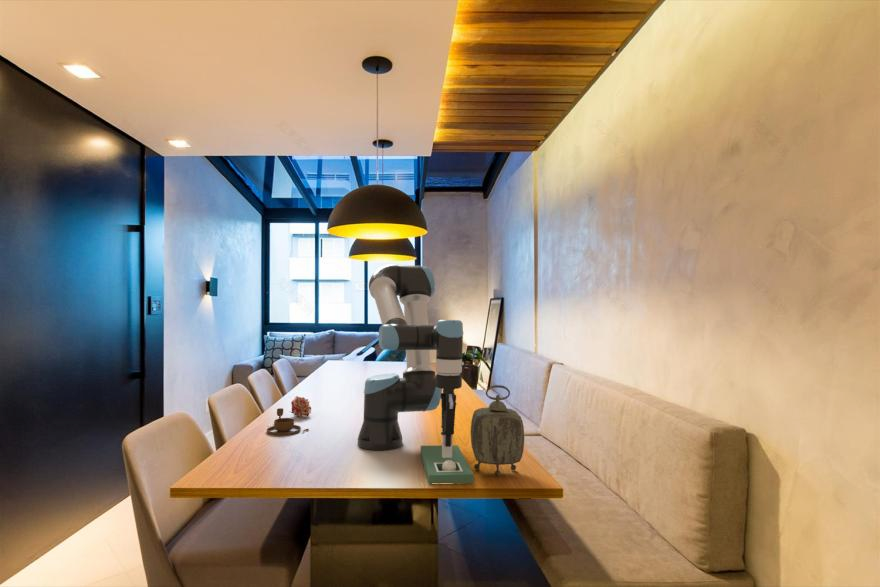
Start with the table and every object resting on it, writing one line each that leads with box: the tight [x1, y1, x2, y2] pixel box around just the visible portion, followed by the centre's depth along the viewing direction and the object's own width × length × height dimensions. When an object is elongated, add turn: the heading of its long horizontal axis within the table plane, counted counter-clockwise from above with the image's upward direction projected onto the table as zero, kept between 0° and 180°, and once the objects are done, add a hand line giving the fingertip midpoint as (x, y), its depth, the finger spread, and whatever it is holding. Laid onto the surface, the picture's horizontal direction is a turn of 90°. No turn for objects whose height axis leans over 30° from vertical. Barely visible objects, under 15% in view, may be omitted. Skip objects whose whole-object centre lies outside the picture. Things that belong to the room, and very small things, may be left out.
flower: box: [288, 395, 312, 419], centre depth 192 cm, size 10×9×8 cm
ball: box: [442, 460, 456, 471], centre depth 128 cm, size 4×4×4 cm
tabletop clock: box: [470, 384, 525, 477], centre depth 131 cm, size 14×9×25 cm, turn 91°
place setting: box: [266, 408, 309, 437], centre depth 173 cm, size 18×20×6 cm
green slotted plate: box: [420, 444, 474, 484], centre depth 134 cm, size 12×26×2 cm, turn 7°
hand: (447, 456), depth 130 cm, fingers closed
